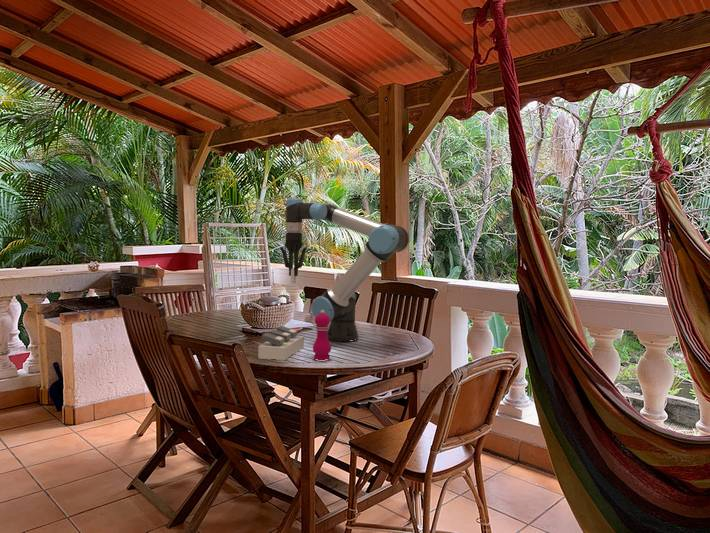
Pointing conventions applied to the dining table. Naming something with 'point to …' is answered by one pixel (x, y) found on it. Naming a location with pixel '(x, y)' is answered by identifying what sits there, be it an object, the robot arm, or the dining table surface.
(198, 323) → the dining table surface
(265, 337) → the rocker
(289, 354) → the power strip
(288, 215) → the robot arm
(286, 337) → the rocker
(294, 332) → the rocker
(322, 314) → the pepper mill
